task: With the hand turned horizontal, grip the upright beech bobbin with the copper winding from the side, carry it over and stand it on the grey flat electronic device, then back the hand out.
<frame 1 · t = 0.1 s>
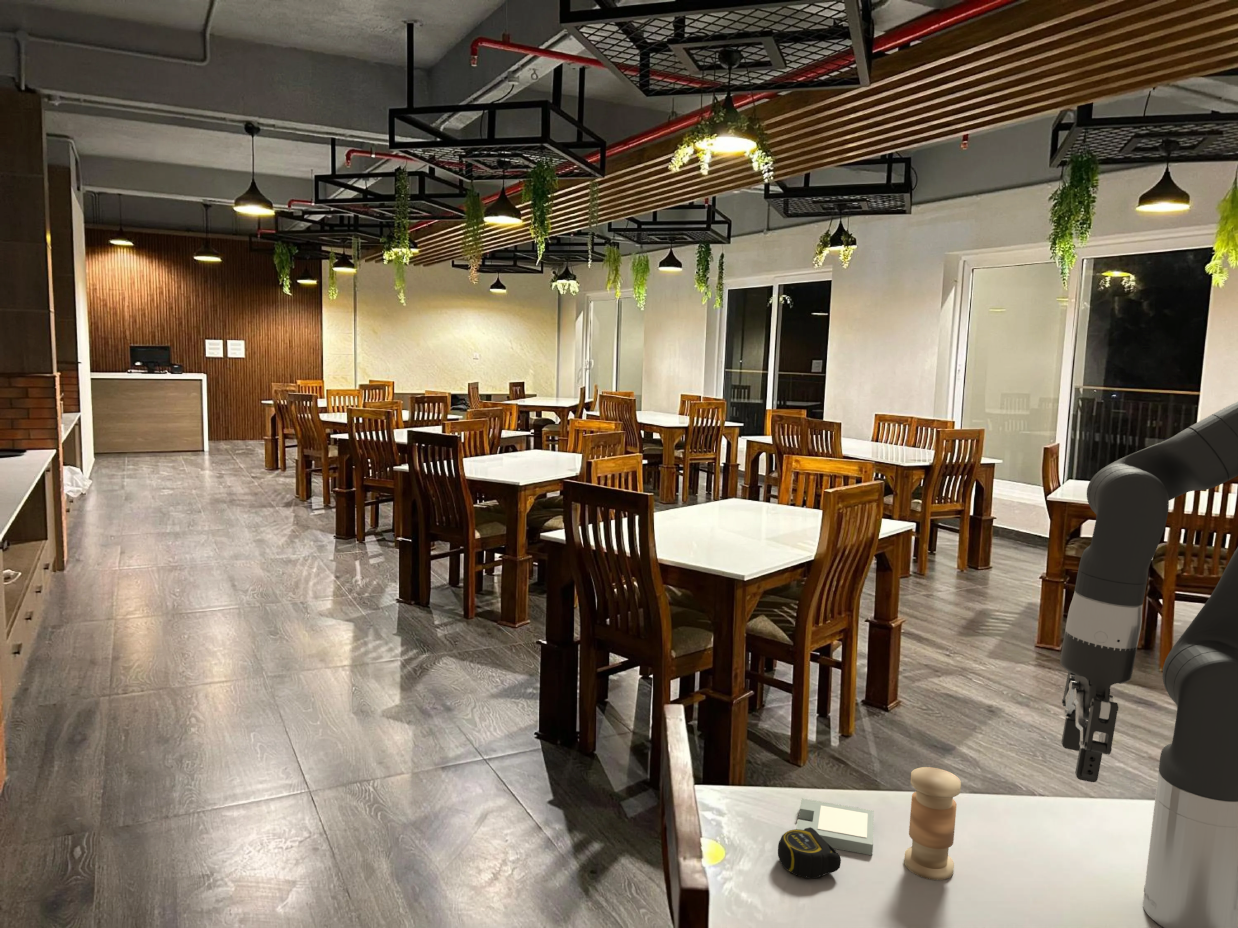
hand: (1077, 763, 104), 17 cm above the table, fingers open, 8 cm apart
grey flat electronic device: (834, 830, 120), on the table
bobbin: (928, 865, 112), on the table
tape measure: (807, 866, 112), on the table
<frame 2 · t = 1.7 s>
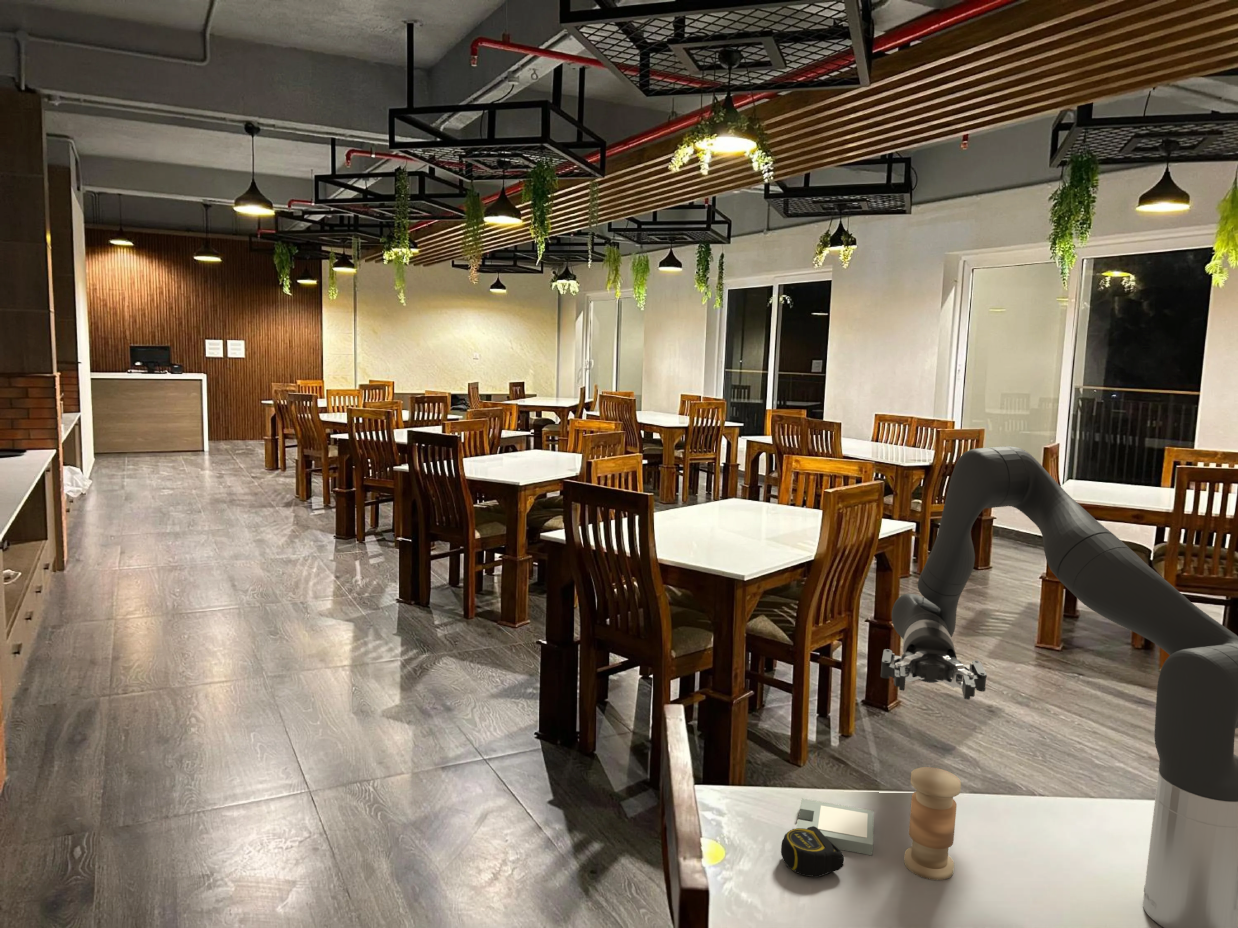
hand: (934, 688, 120), 20 cm above the table, fingers open, 8 cm apart
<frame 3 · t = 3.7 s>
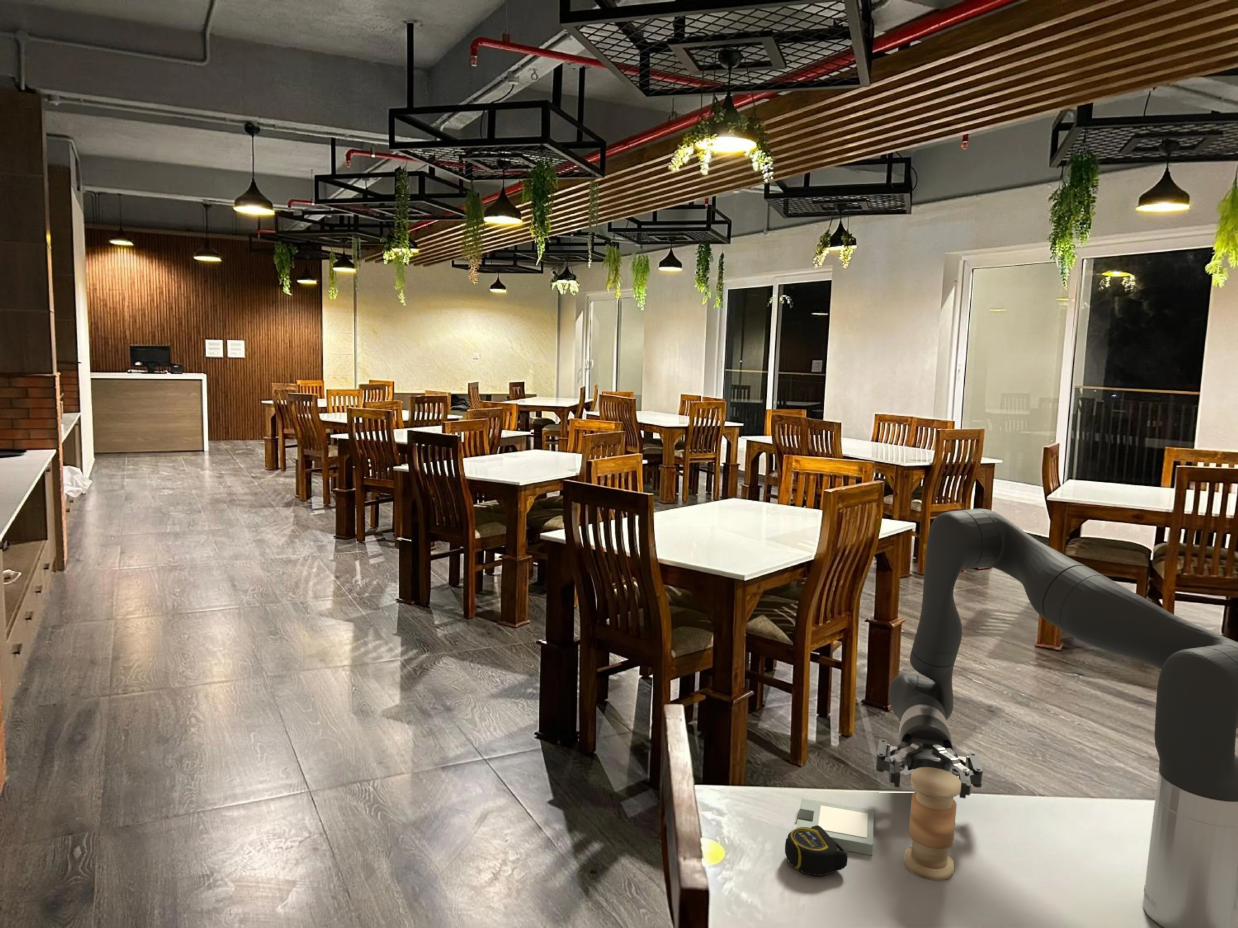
hand: (930, 786, 119), 7 cm above the table, fingers open, 8 cm apart
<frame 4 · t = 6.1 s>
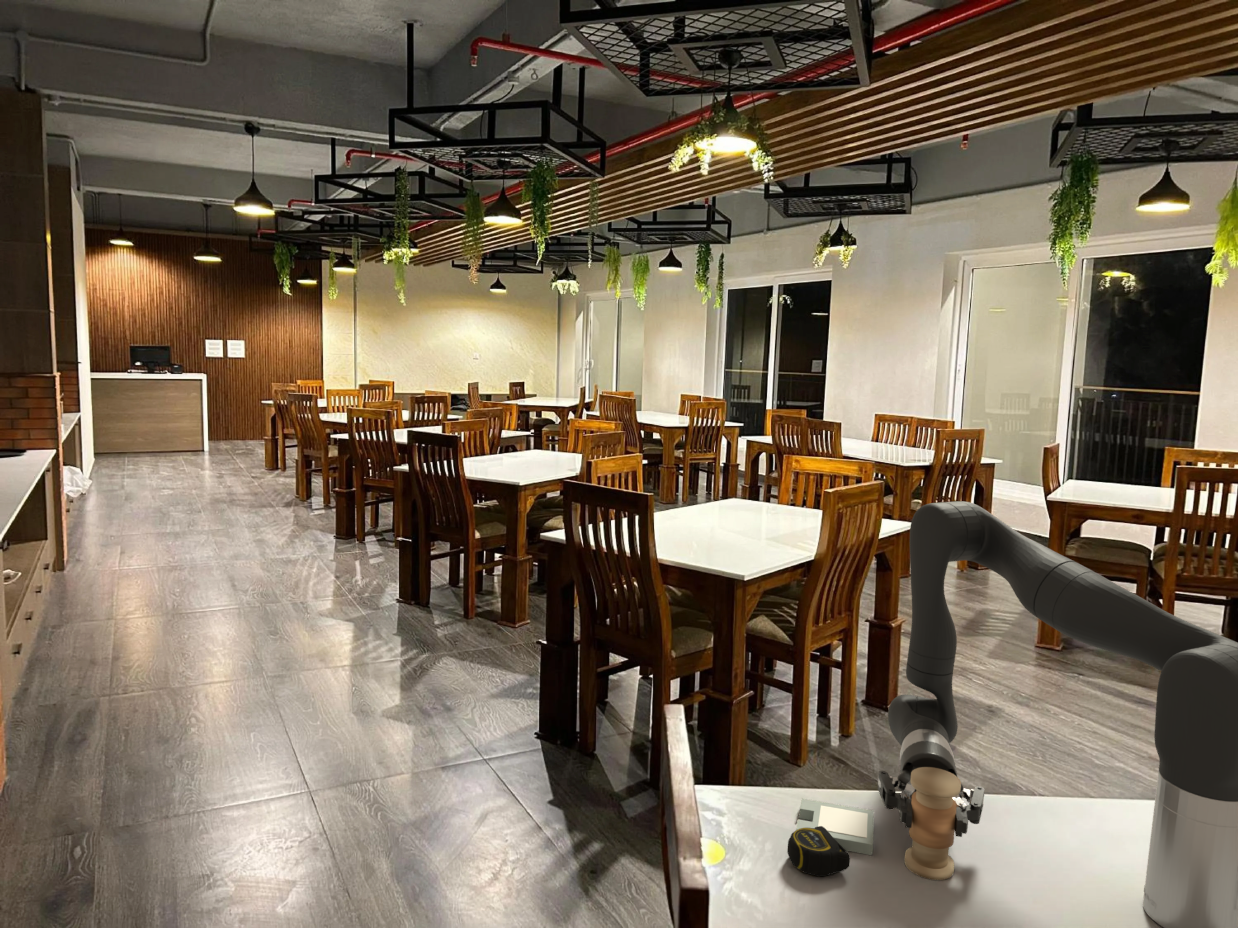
hand: (934, 824, 109), 7 cm above the table, fingers closed on bobbin, 5 cm apart
bobbin: (928, 865, 112), on the table, touching gripper
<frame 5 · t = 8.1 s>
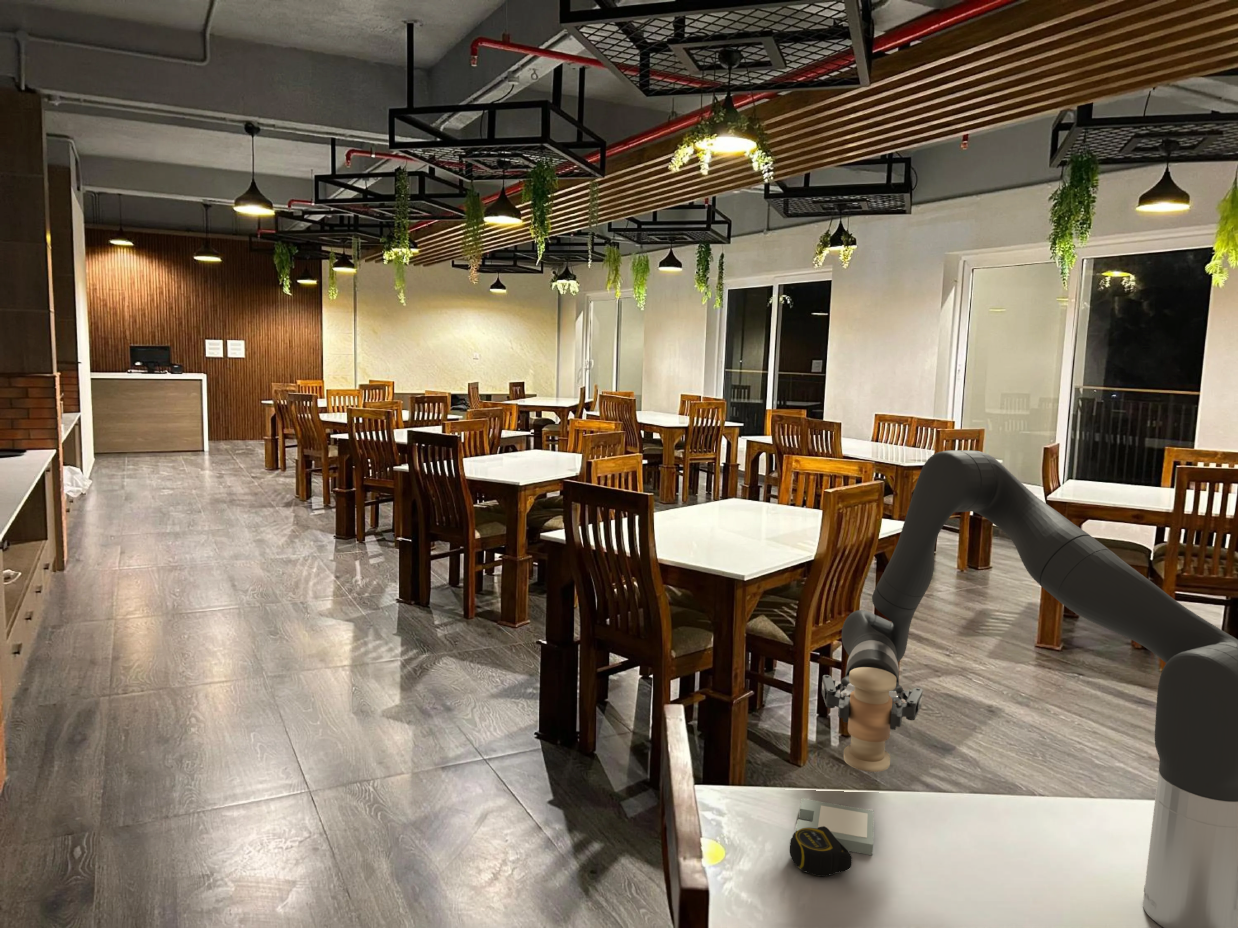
hand: (869, 718, 113), 18 cm above the table, fingers closed on bobbin, 5 cm apart
bobbin: (866, 760, 117), point 11 cm above the table, touching gripper
when the fingers open (9 cm above the table, at t = 10.4 s): bobbin stays where it is, resting on grey flat electronic device.
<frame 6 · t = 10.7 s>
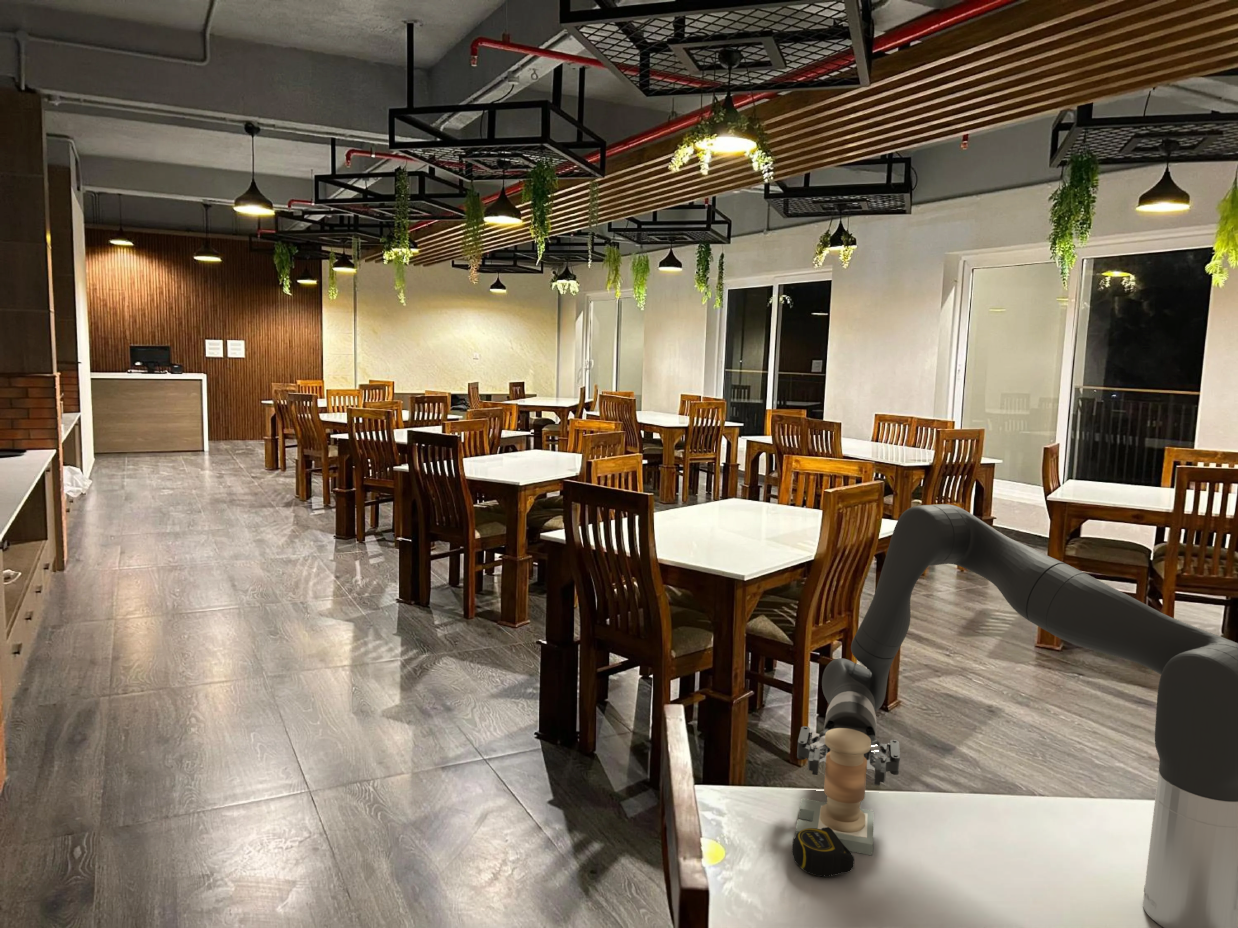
hand: (846, 773, 116), 9 cm above the table, fingers open, 7 cm apart
bobbin: (842, 820, 119), point 2 cm above the table, touching grey flat electronic device
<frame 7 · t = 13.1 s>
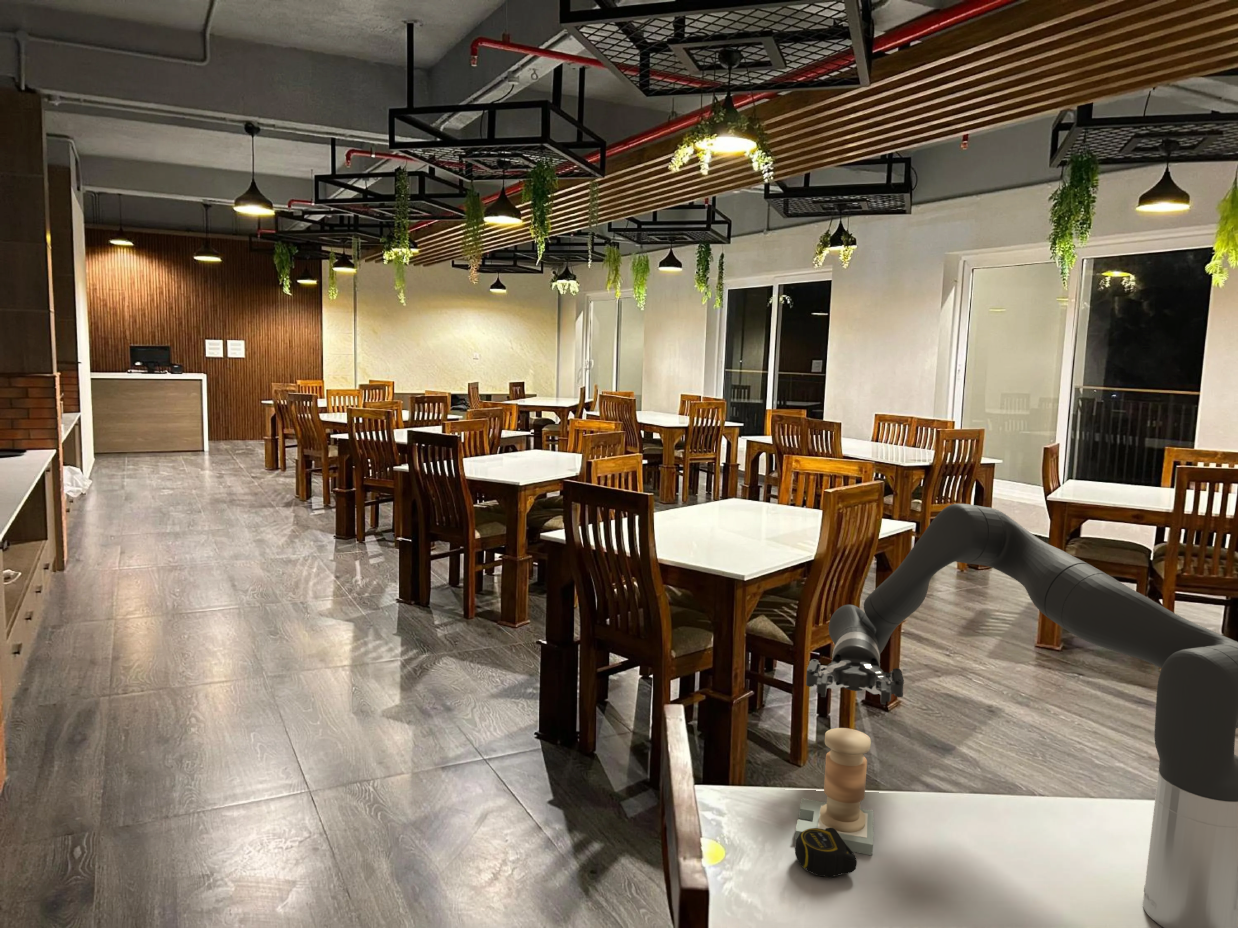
hand: (853, 694, 127), 16 cm above the table, fingers open, 8 cm apart
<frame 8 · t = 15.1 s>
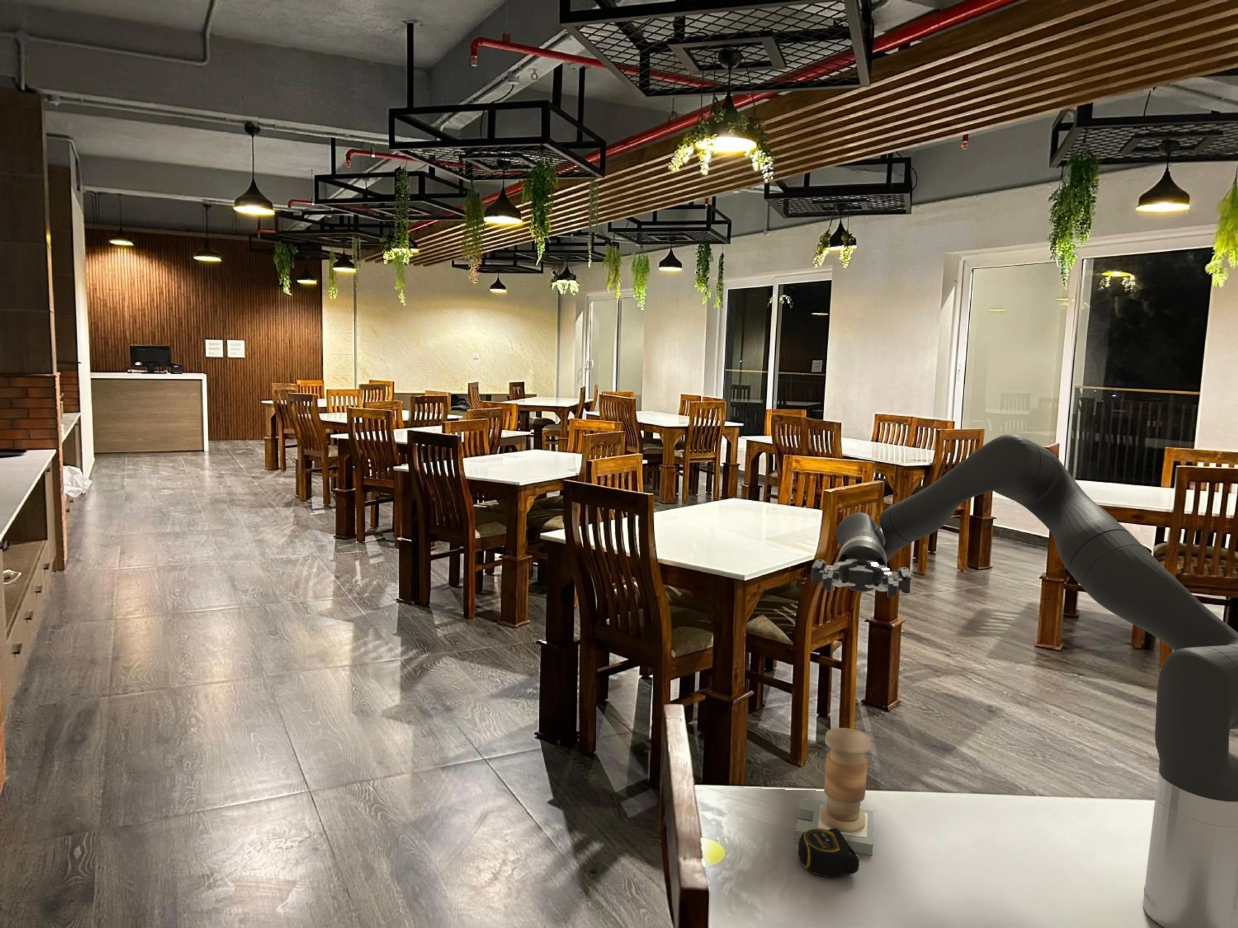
hand: (859, 588, 124), 32 cm above the table, fingers open, 8 cm apart
at the end: bobbin inside the target area on the grey flat electronic device (0.1 cm from its centre), point 1.6 cm above the grey flat electronic device's base; bobbin tilted 0°; the gripper is holding nothing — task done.
